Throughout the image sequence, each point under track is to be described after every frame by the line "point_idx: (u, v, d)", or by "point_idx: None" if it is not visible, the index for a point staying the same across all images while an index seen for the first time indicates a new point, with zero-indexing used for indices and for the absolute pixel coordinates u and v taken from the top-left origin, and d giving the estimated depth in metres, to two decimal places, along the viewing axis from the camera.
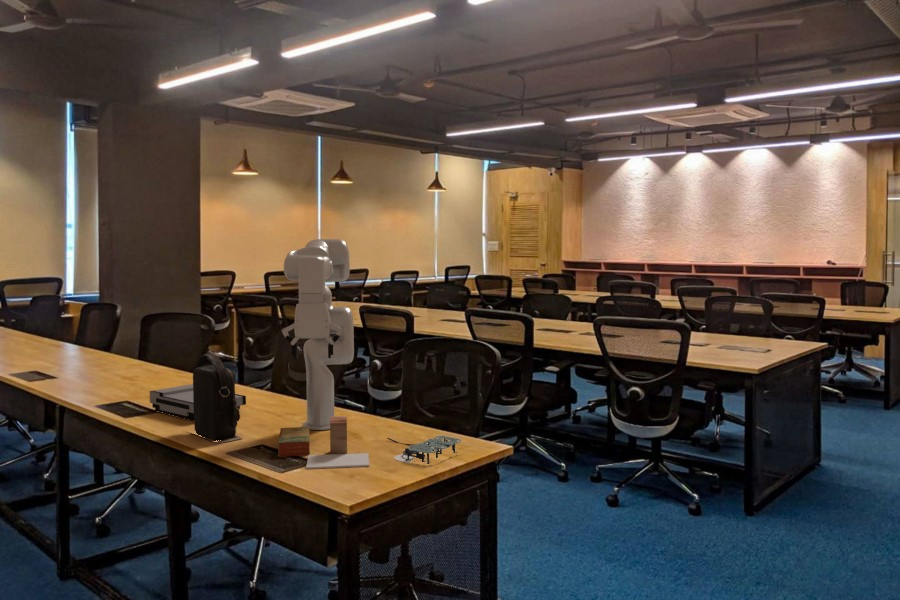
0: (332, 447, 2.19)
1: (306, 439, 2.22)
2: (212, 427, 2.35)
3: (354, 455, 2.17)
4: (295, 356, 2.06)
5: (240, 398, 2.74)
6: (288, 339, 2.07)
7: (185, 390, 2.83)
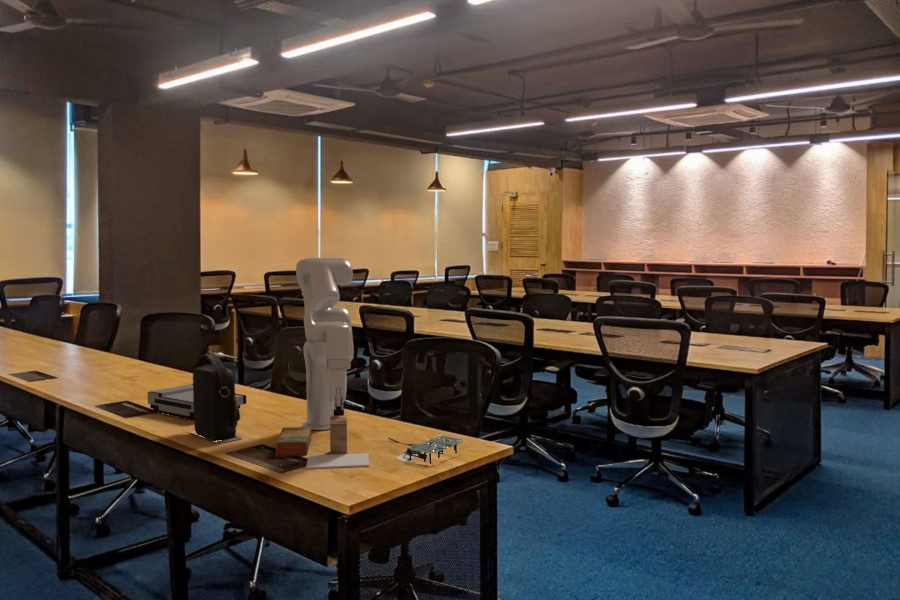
0: (332, 447, 2.19)
1: (304, 439, 2.21)
2: (212, 427, 2.35)
3: (354, 455, 2.17)
4: None
5: (241, 397, 2.75)
6: (341, 405, 2.22)
7: (183, 390, 2.83)
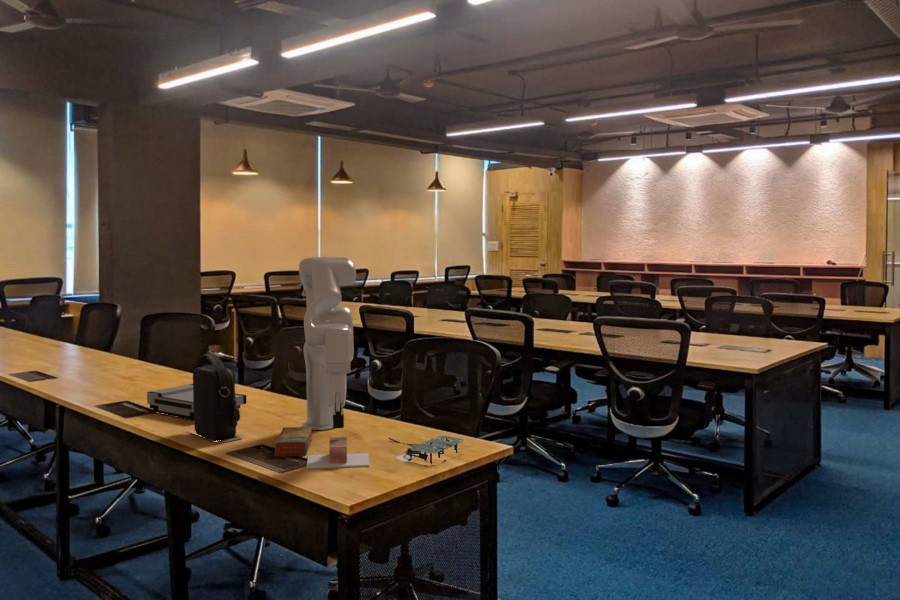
0: None
1: (303, 439, 2.21)
2: (212, 427, 2.35)
3: (354, 455, 2.17)
4: None
5: (241, 397, 2.75)
6: (340, 411, 2.15)
7: (183, 390, 2.83)
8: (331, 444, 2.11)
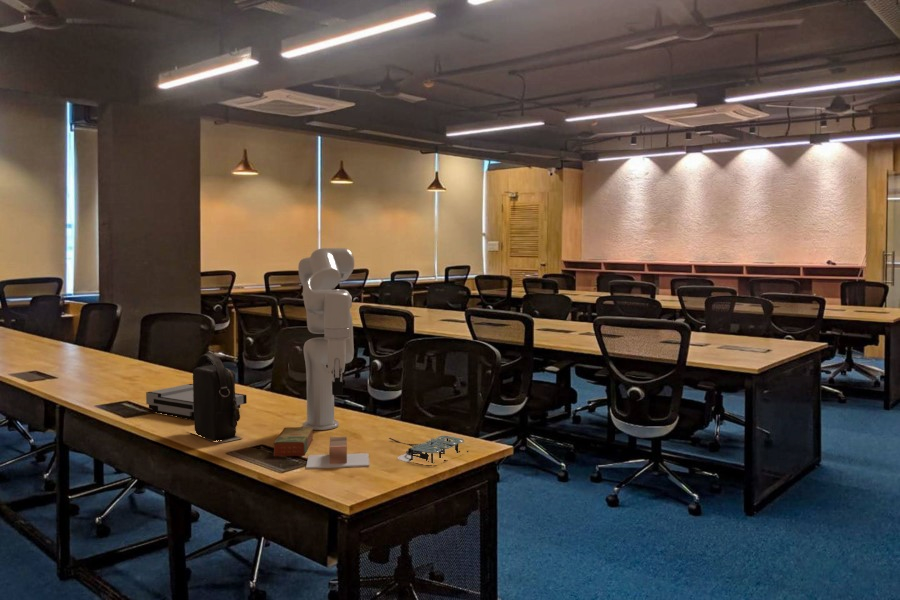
0: None
1: (302, 440, 2.21)
2: (212, 427, 2.35)
3: (354, 455, 2.17)
4: None
5: (241, 397, 2.76)
6: (340, 377, 2.12)
7: (181, 390, 2.82)
8: (331, 444, 2.11)
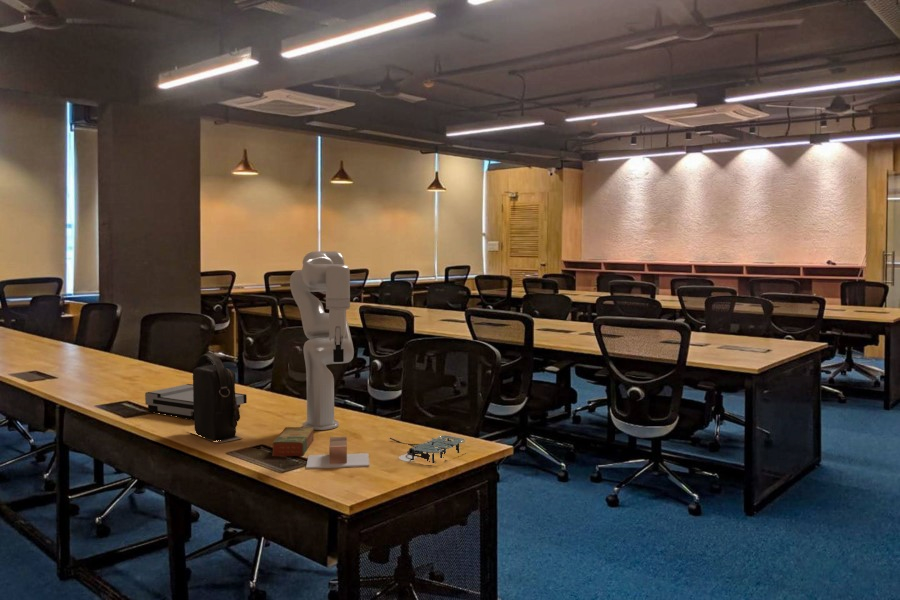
0: None
1: (301, 440, 2.21)
2: (212, 427, 2.35)
3: (354, 455, 2.17)
4: None
5: (241, 397, 2.76)
6: (340, 345, 2.26)
7: (181, 391, 2.82)
8: (331, 444, 2.11)
